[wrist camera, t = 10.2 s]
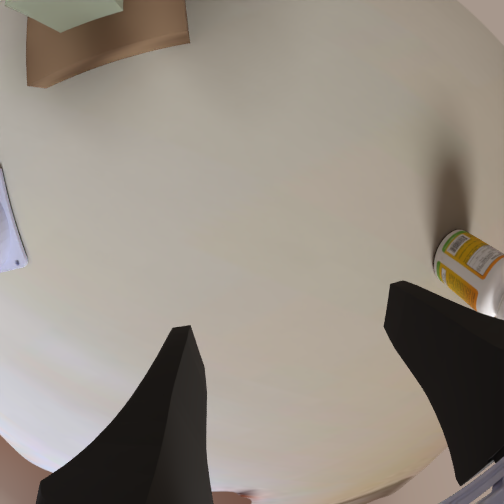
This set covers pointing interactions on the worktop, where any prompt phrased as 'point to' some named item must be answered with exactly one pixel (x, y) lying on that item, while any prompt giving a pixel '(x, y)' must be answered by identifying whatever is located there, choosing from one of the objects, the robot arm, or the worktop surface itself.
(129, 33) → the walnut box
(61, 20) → the sage-green block
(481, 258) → the supplement bottle
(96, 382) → the worktop surface
